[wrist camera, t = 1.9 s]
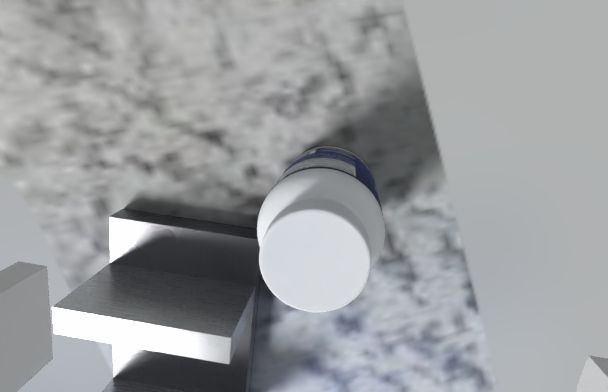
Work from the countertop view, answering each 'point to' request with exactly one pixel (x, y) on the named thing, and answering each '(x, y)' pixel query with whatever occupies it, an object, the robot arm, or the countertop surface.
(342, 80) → the countertop surface
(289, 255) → the pill bottle
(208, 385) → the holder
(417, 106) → the countertop surface
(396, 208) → the countertop surface
